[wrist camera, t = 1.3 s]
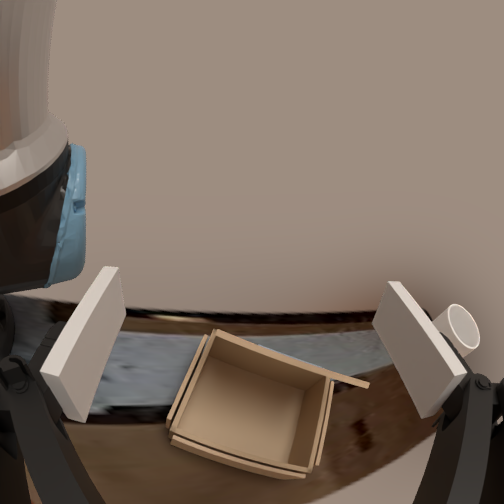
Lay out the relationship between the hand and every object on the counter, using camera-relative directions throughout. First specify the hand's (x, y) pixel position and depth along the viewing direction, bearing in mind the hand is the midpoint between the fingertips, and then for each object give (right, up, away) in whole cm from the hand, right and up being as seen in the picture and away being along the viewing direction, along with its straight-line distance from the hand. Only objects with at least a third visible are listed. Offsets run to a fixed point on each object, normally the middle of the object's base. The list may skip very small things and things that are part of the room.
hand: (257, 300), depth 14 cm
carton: (-1, -16, +17) cm, 23 cm away
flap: (+2, -9, +17) cm, 19 cm away
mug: (+29, -17, +29) cm, 44 cm away
